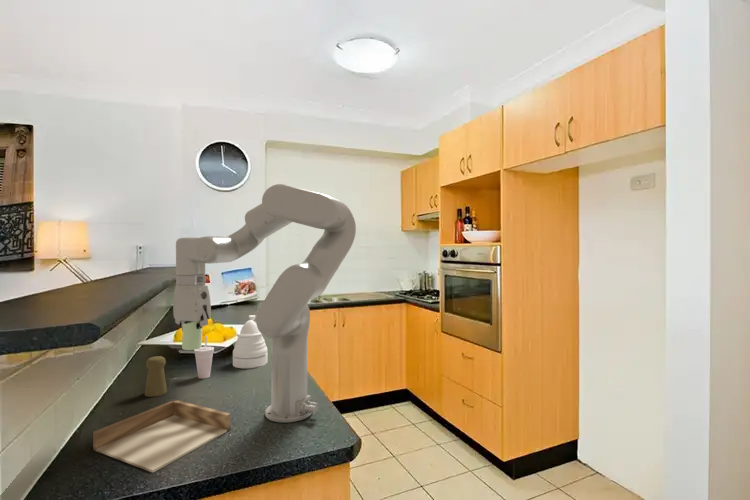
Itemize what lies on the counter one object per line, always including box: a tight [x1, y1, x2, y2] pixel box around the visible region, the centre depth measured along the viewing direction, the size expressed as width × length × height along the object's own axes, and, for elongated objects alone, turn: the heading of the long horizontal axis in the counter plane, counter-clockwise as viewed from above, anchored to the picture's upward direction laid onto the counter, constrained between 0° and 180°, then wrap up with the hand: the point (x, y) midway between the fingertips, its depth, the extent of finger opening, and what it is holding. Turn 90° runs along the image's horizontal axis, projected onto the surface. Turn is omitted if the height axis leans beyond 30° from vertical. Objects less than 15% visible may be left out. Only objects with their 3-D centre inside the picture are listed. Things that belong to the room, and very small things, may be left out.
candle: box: [181, 320, 203, 351], centre depth 109 cm, size 5×5×8 cm
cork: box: [144, 355, 168, 398], centre depth 118 cm, size 6×6×11 cm
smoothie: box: [193, 335, 215, 379], centre depth 133 cm, size 6×6×14 cm
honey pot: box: [232, 314, 269, 369], centre depth 149 cm, size 13×13×18 cm
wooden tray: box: [92, 399, 231, 474], centre depth 89 cm, size 20×20×4 cm
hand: (191, 345), depth 109 cm, fingers closed on candle, 1 cm apart
